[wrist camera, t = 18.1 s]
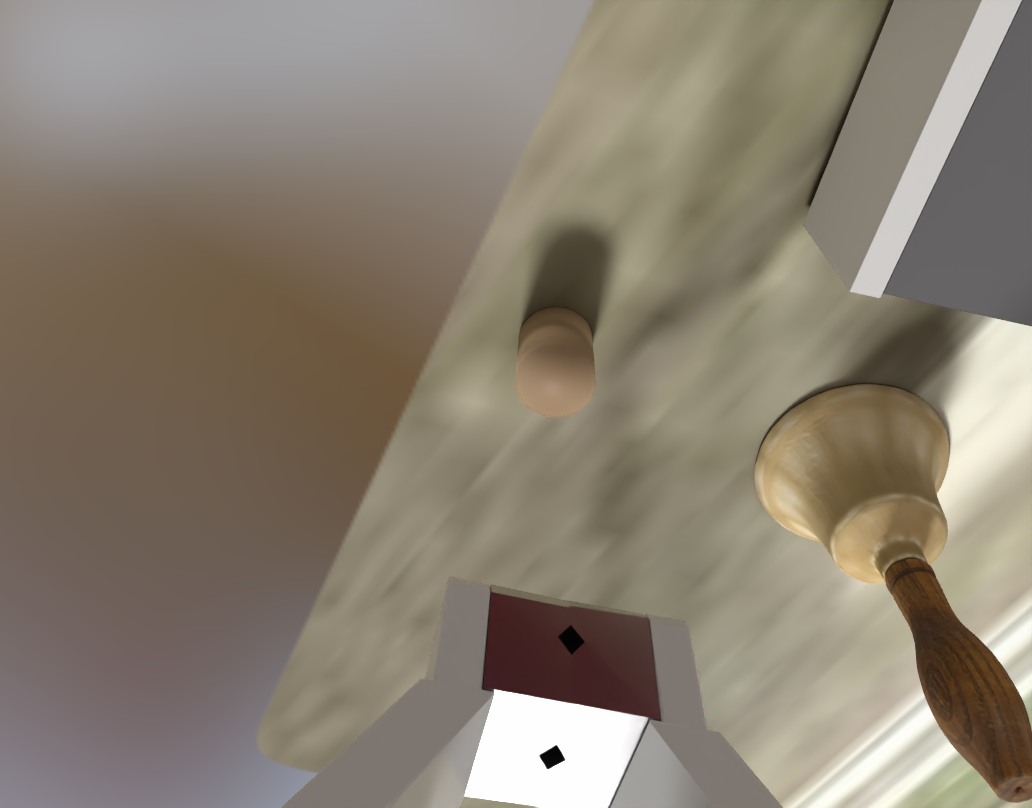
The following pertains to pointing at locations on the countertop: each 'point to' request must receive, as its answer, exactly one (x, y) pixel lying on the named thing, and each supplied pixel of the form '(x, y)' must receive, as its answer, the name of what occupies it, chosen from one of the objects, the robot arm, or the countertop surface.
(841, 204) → the white drawer
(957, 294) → the block
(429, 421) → the countertop surface
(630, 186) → the countertop surface
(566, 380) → the post
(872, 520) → the hand bell
